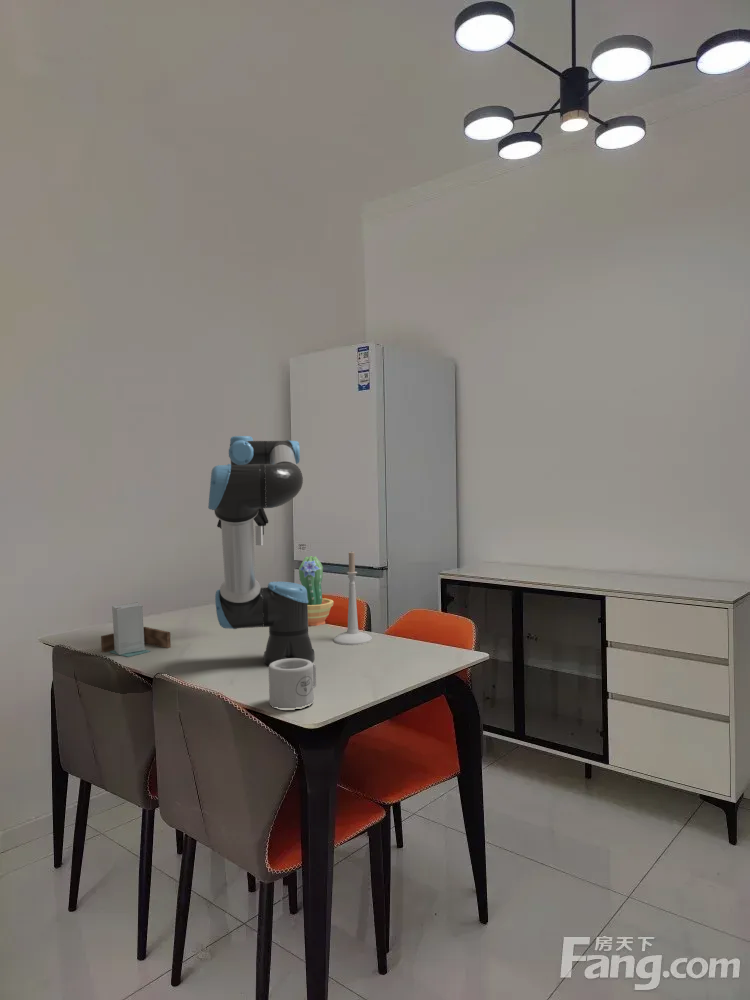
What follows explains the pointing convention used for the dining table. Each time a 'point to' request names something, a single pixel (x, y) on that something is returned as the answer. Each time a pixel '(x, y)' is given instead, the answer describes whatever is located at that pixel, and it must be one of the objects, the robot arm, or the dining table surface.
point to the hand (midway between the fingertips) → (244, 547)
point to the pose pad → (131, 653)
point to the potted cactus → (314, 590)
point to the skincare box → (128, 628)
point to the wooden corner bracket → (150, 637)
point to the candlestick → (352, 613)
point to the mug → (291, 682)
